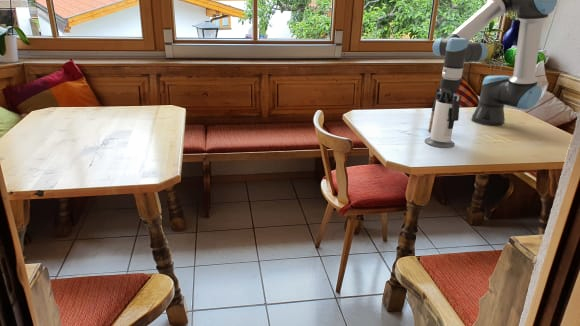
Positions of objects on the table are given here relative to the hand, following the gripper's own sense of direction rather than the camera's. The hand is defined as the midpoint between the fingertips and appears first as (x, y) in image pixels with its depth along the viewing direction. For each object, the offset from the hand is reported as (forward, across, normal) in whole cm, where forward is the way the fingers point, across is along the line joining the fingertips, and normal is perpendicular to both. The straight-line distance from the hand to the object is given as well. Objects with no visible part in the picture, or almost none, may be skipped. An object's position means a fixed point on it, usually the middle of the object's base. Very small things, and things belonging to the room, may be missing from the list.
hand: (441, 132), depth 179 cm
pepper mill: (+5, -15, +6) cm, 17 cm away
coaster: (+5, 0, 0) cm, 5 cm away
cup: (+3, 0, 0) cm, 3 cm away
